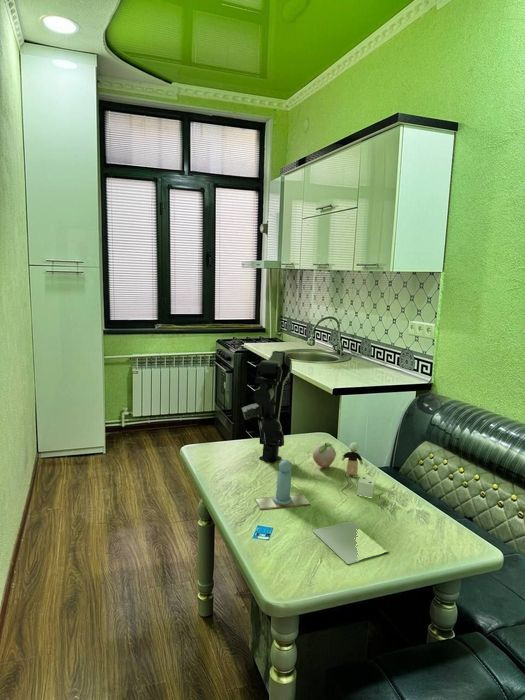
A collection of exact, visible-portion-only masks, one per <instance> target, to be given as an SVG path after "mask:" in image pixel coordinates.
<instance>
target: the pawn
mask: <svg viewBox="0 0 525 700" xmlns="http://www.w3.org/2000/svg"><path fill="white" fill-rule="evenodd" d="M292 467H293V466H292V462H291V461H290V460H288V459H281V461H280V462H279V464H278V469H277V481H276V493H275V495H274V496H273V497H274V502H275V503H276V504H278V505H283V506H285V505H289V504H291V501H292V498H291V497H290V495H291V488H292V476H293V472H292Z"/></svg>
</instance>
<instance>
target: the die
mask: <svg viewBox="0 0 525 700" xmlns="http://www.w3.org/2000/svg"><path fill="white" fill-rule="evenodd" d="M375 485H376V478H373V477H367V476H364V475H363V476H362V475H360V477H359V479H358V481H357V491H356V496H357V495H361V496H367V497H374V494H375ZM373 493H374V494H373Z"/></svg>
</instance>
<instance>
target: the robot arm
mask: <svg viewBox="0 0 525 700" xmlns="http://www.w3.org/2000/svg"><path fill="white" fill-rule="evenodd" d="M292 370H293V362H292V359H291V358H290V357H289V356H288V355H287V352H285V351H282V350H274V351H272V353H271V355H270V357H269V359H264V360H262V361H260V363H259V364H258V365H257V370H256V375H255V380H254V383H255V384H259V386H258V388H257V389H256V390H255V391H254V393H253V401H254V403H251V404H248V405H246V406H243V407H241V410H242V414H243V417H244V420H246V421H247V420H250V419H252V418H255V419H256V420H257V421H258V427H259V435H258V436H259V445H263V447H262V455H261V456H259V458H258V459H259V460H261V461H264V462H268V463H271V464H275V463H276V462H278V461H279V460H282V458H283V457H282V456H280V455H279V453H280V452H279V451H280V448H282V447H283V446H285V435H284V432H283V431H282V430H283V427H282V424H281V422H280V416H281V415H280V414H281V409H282V400H283V392H284V387H285V383H286V382H287V381H288V380H289V378H290V374H291V373H292Z"/></svg>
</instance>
